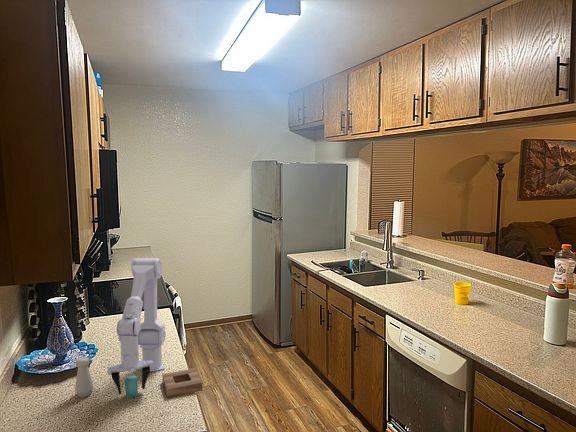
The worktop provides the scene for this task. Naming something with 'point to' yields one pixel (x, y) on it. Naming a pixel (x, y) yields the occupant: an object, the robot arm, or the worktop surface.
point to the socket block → (182, 382)
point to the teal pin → (131, 386)
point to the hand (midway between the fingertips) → (131, 390)
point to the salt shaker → (83, 378)
